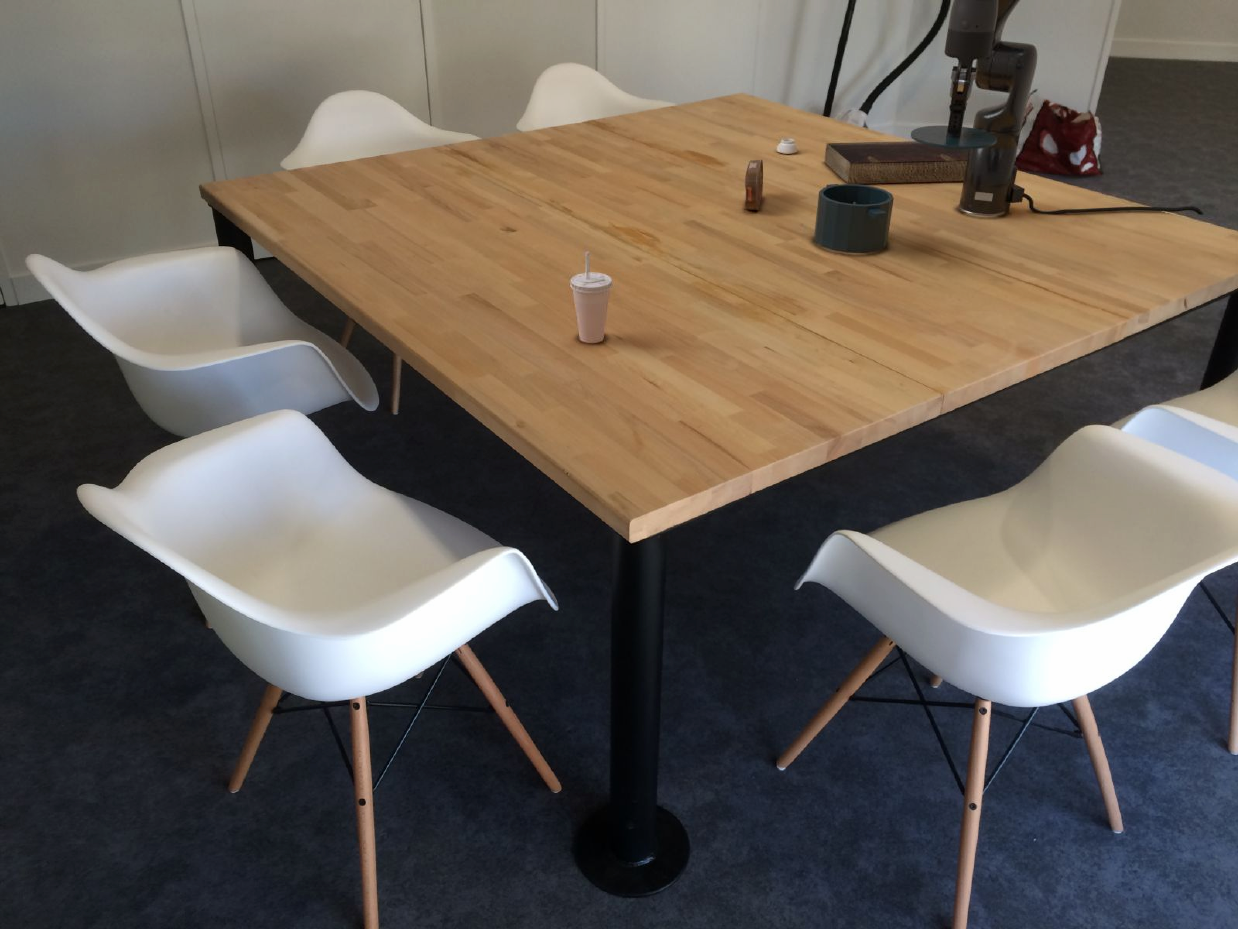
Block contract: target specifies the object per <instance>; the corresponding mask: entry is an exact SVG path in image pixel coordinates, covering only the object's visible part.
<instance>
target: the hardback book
mask: <svg viewBox="0 0 1238 929" xmlns="http://www.w3.org/2000/svg"><path fill="white" fill-rule="evenodd" d="M967 159H968V154H967V153H966V152H964V151H963V150H952V149H943V148H937V147H933V146H930V145H926V144H923V143H920V142H917V141H915V140H912V141H911V140H910V141H907V140H906V141H873V142H872V141H871V142H870V141H867V142H865V141H864V142H863V141H861V142H827V143H826V145H825V152H824V164H825V165H826V166H827V167H828V168H829V169H831V170H832V171H833V172H834V173H835V174H836V175H837V176H839V178H841V179H842V180H843V181H844V182H845V184H889V183H890V184H891V183H892V184H893V183H931V182H933V183H934V182H963V181H964V176H965V170H966V164H967Z"/></svg>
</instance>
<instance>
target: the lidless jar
mask: <svg viewBox="0 0 1238 929" xmlns="http://www.w3.org/2000/svg"><path fill="white" fill-rule="evenodd" d="M776 152H778V153H780V154H784V155H792V154H796V153H798V146H797V145H796V143H795V139H794V138H781V141H780V142H778V145H777V147H776Z"/></svg>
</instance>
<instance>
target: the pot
mask: <svg viewBox="0 0 1238 929" xmlns="http://www.w3.org/2000/svg"><path fill="white" fill-rule="evenodd" d="M854 202H856V203H857V204H853V203H854ZM893 205H894V195H893V194H892V193H891V192H889V191H888V190H886V189H883V188H880V187H877V186H873V185H867V184H866V185H865V184H860V183H858V184H848V183H841V184H839V183H831V184H826V186H825V187H823V188H821V189H820V190H819V191H818V197H817V208H816V214H815V215H816V217H815V225H814V234H813V235H814V236H813V237H814V242H815V243H816V244H818V245H819V246H821V247H822V248H825V249H828V250H831V251H835V252H840V253H847V254H848V253H851V254H864V253H875V252H877V251H880V250H883V249H884V248H885V247H886V246H888V240H889V234H890V226H891V220H892V215H893V214H892V212H893Z"/></svg>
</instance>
